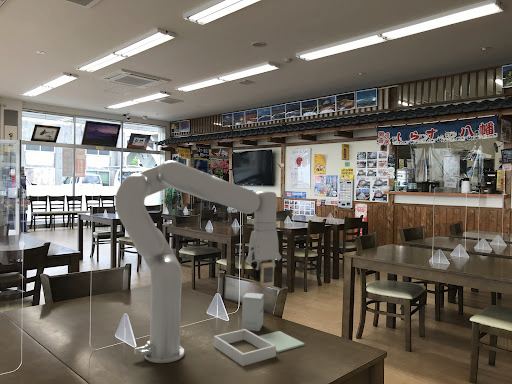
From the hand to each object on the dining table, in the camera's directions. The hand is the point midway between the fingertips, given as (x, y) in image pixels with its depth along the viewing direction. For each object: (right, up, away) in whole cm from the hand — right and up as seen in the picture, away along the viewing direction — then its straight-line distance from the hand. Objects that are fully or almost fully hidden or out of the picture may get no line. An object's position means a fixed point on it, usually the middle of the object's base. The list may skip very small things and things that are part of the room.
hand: (263, 279), depth 137 cm
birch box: (0, -2, 0) cm, 2 cm away
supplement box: (-4, -23, +19) cm, 30 cm away
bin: (-7, -23, -4) cm, 24 cm away
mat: (+5, -23, +5) cm, 25 cm away
